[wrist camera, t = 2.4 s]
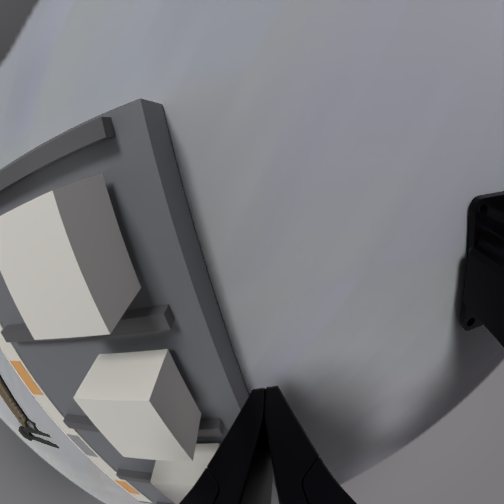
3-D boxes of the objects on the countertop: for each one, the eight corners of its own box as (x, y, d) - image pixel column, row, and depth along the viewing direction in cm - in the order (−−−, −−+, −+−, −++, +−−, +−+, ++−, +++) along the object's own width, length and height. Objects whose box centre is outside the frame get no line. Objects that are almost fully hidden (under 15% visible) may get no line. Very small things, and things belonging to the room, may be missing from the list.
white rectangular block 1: (102, 172, 7) (52, 190, 5) (141, 287, 9) (110, 334, 7) (32, 202, 8) (-17, 225, 6) (70, 300, 9) (34, 339, 7)
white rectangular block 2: (218, 443, 12) (213, 486, 10) (238, 474, 13) (236, 510, 11) (160, 443, 12) (150, 482, 10) (186, 474, 13) (181, 508, 11)
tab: (167, 348, 10) (148, 400, 7) (201, 413, 11) (192, 461, 9) (99, 354, 10) (73, 398, 8) (138, 414, 11) (123, 456, 9)
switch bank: (161, 104, 9) (132, 96, 7) (283, 484, 18) (285, 512, 16) (-32, 202, 10) (-65, 217, 8) (145, 484, 19) (139, 507, 17)
